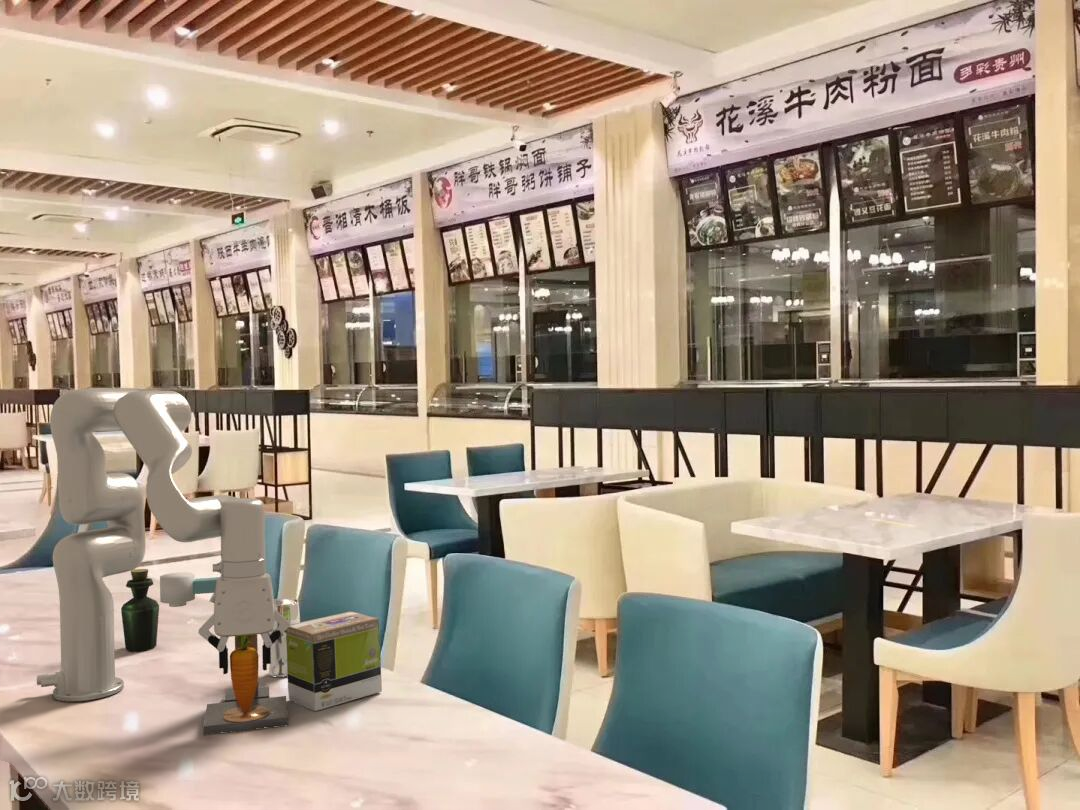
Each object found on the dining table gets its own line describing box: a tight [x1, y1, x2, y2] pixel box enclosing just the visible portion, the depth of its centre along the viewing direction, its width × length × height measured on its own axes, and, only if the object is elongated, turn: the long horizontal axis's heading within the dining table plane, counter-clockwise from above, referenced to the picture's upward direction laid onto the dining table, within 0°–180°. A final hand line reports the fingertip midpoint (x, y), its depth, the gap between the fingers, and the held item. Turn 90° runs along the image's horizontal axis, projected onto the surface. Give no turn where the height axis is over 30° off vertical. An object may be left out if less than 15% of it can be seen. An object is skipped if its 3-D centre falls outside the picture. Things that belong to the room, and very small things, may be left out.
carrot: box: [229, 635, 259, 713], centre depth 165 cm, size 5×5×15 cm
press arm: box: [159, 571, 220, 608], centre depth 174 cm, size 18×6×7 cm, turn 107°
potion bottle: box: [120, 568, 160, 653], centre depth 215 cm, size 8×8×18 cm
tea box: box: [286, 611, 383, 712], centre depth 178 cm, size 15×10×15 cm, turn 134°
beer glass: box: [267, 597, 301, 678], centre depth 194 cm, size 7×7×15 cm
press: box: [202, 634, 289, 735], centre depth 170 cm, size 14×19×20 cm
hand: (245, 669), depth 165 cm, fingers open, 6 cm apart
